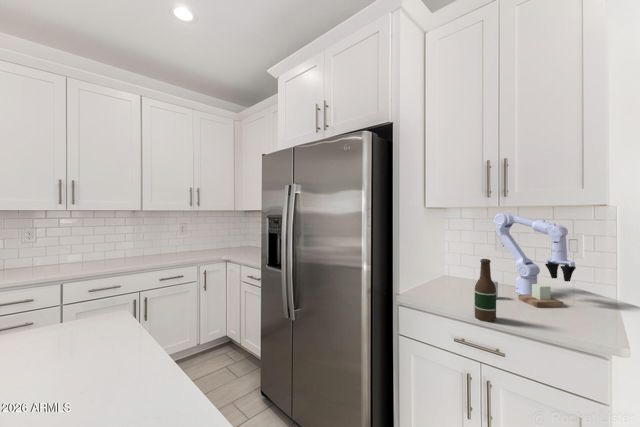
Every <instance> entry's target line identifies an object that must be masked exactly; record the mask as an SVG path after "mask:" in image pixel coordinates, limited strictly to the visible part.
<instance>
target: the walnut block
mask: <svg viewBox="0 0 640 427" xmlns="http://www.w3.org/2000/svg"><path fill="white" fill-rule="evenodd" d="M518 300H519V301H521V302H524V303H525V304H528V305H530V306H533V307H535V308H537V309H541V308H546V309H547V308H549V309H550V308H564V301H562V300H559V299H557V298H554V297H552V296H551V300H539V299H537V298H534V297H532V294H524V295H522V294H518Z"/></svg>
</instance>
